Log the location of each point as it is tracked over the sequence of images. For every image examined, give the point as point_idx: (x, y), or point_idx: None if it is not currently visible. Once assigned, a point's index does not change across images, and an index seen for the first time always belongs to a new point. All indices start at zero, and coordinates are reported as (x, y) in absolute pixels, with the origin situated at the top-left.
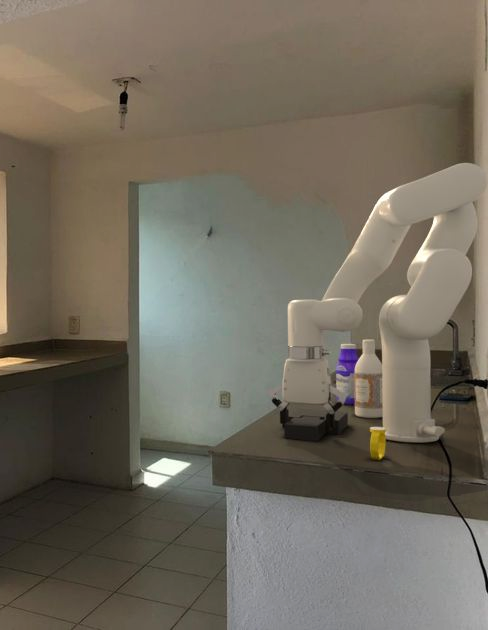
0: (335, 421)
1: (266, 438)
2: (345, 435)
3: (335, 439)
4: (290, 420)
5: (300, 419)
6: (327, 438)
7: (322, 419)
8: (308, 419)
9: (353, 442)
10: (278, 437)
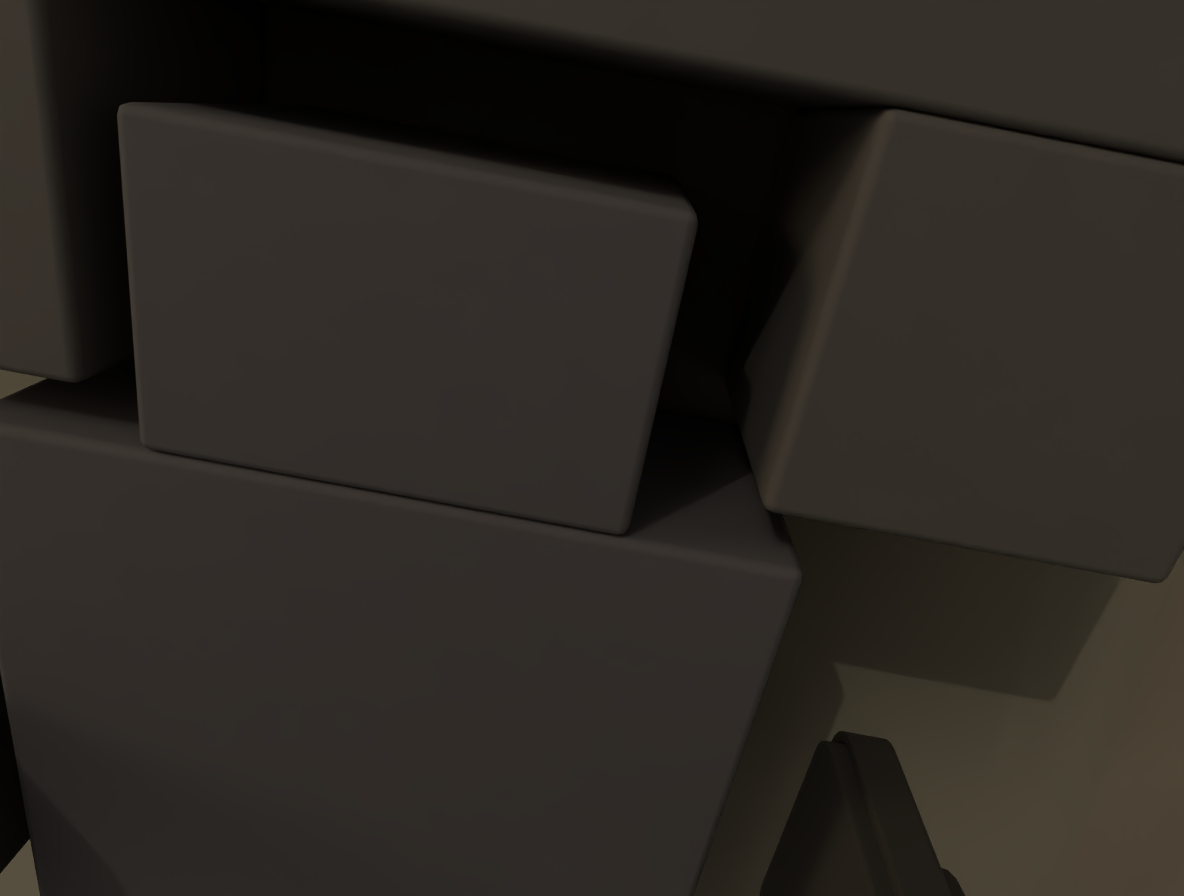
0: (1070, 558)
1: (7, 882)
2: None
3: None
4: (37, 796)
5: (198, 659)
6: (760, 746)
7: (753, 82)
8: (379, 620)
9: (1086, 888)
10: None
